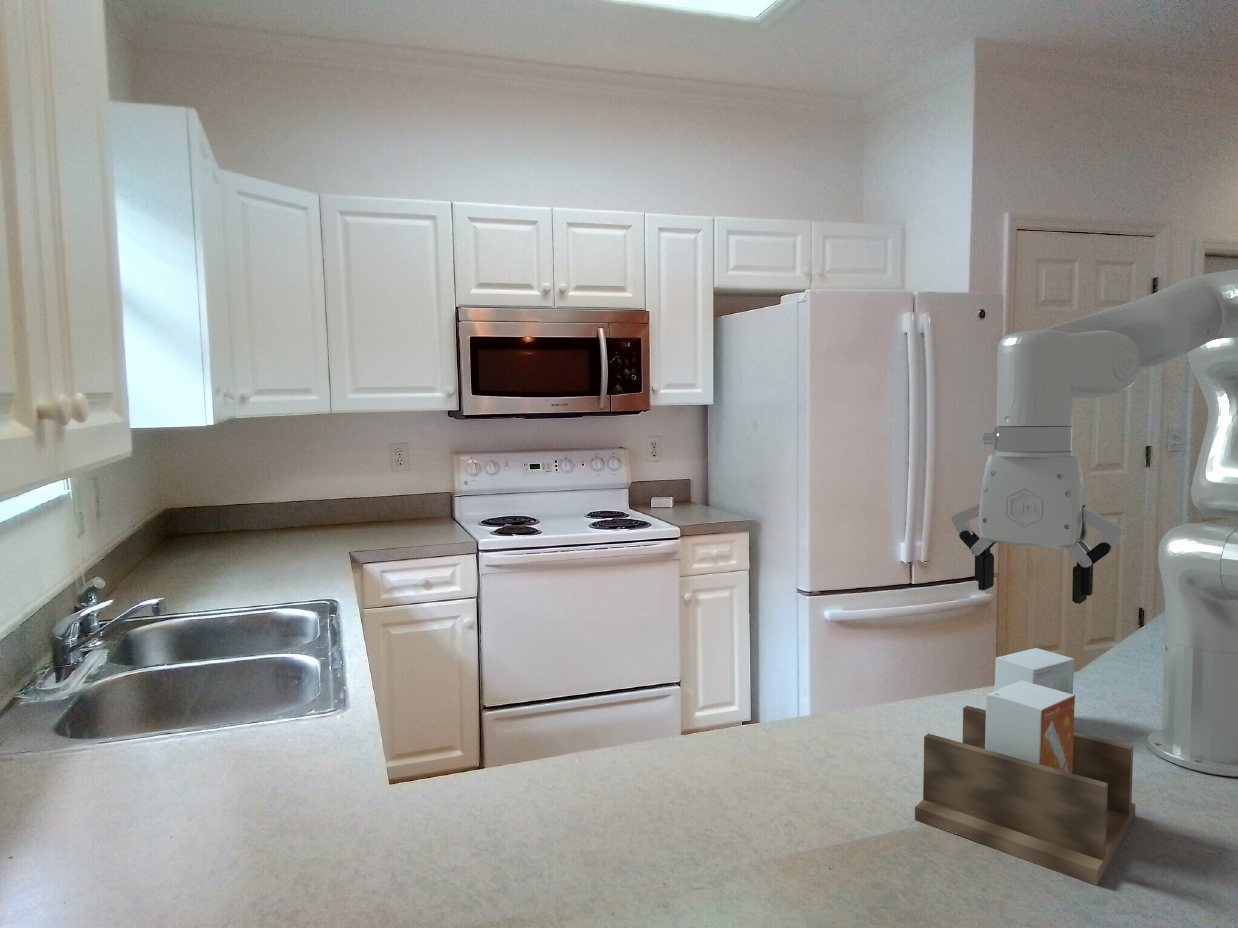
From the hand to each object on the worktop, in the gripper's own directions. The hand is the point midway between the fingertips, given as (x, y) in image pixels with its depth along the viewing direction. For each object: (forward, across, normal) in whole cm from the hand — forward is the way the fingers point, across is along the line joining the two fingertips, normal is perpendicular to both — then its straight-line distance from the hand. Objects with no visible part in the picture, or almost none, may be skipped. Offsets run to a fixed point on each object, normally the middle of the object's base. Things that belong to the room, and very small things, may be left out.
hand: (1031, 594), depth 85 cm
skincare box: (+26, -8, +30) cm, 40 cm away
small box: (+25, 0, 0) cm, 25 cm away
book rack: (+26, 0, 0) cm, 26 cm away
